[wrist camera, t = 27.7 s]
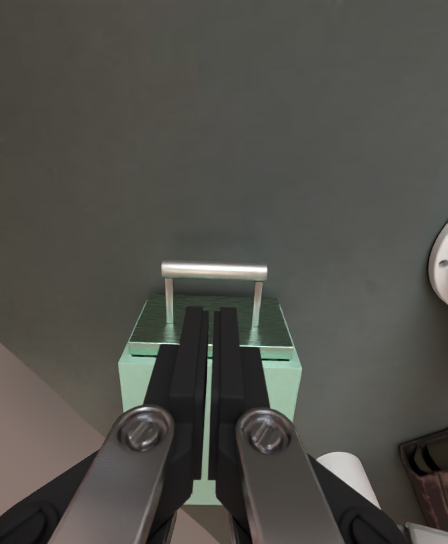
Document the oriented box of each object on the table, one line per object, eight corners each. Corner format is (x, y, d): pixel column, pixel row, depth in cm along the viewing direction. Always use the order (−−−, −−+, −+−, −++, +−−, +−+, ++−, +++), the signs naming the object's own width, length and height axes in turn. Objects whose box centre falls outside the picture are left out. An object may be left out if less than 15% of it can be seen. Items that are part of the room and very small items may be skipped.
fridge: (146, 299, 32) (117, 363, 23) (280, 304, 32) (302, 368, 23) (153, 419, 38) (133, 503, 29) (264, 421, 39) (277, 506, 30)
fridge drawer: (146, 239, 28) (121, 274, 21) (283, 244, 28) (304, 281, 21) (156, 411, 37) (141, 478, 29) (262, 414, 37) (272, 480, 30)
